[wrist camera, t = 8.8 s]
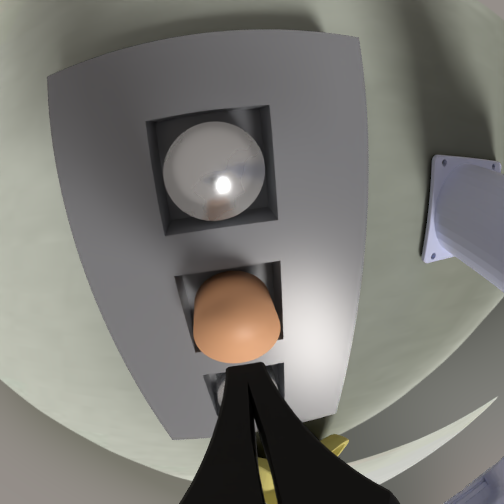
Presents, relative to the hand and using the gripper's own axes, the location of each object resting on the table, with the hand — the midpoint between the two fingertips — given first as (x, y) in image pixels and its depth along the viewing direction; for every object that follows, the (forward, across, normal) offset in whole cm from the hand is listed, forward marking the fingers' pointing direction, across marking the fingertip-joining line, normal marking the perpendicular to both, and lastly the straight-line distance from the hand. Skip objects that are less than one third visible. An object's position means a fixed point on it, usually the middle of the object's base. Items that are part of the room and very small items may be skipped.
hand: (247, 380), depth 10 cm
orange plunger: (+5, 0, 0) cm, 5 cm away
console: (+8, 0, 0) cm, 8 cm away
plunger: (+7, 0, -7) cm, 10 cm away
